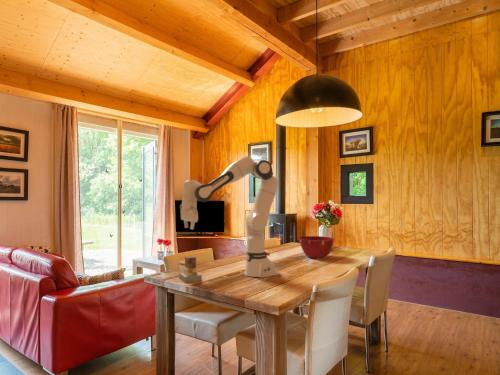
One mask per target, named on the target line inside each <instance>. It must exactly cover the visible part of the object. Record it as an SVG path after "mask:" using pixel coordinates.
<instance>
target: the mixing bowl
mask: <svg viewBox="0 0 500 375" xmlns="http://www.w3.org/2000/svg"><path fill="white" fill-rule="evenodd" d="M298 240H299V243H300V244H299V245H300V246H301V250H302V252H303V254H304V255H305V256H306V257H308V258H309V259H310V258H311V259H325V258H326V257H328V255H329V254H330V253H331V250H332V248H333V245H334V241H335V238H334V237H329V236H318V235H307V236H299V237H298Z"/></svg>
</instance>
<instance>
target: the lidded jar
mask: <svg viewBox="0 0 500 375" xmlns="http://www.w3.org/2000/svg"><path fill="white" fill-rule="evenodd" d="M184 267H185V259H184V260H180V261H179V262H178V268H179V272H180V273H184Z"/></svg>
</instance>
